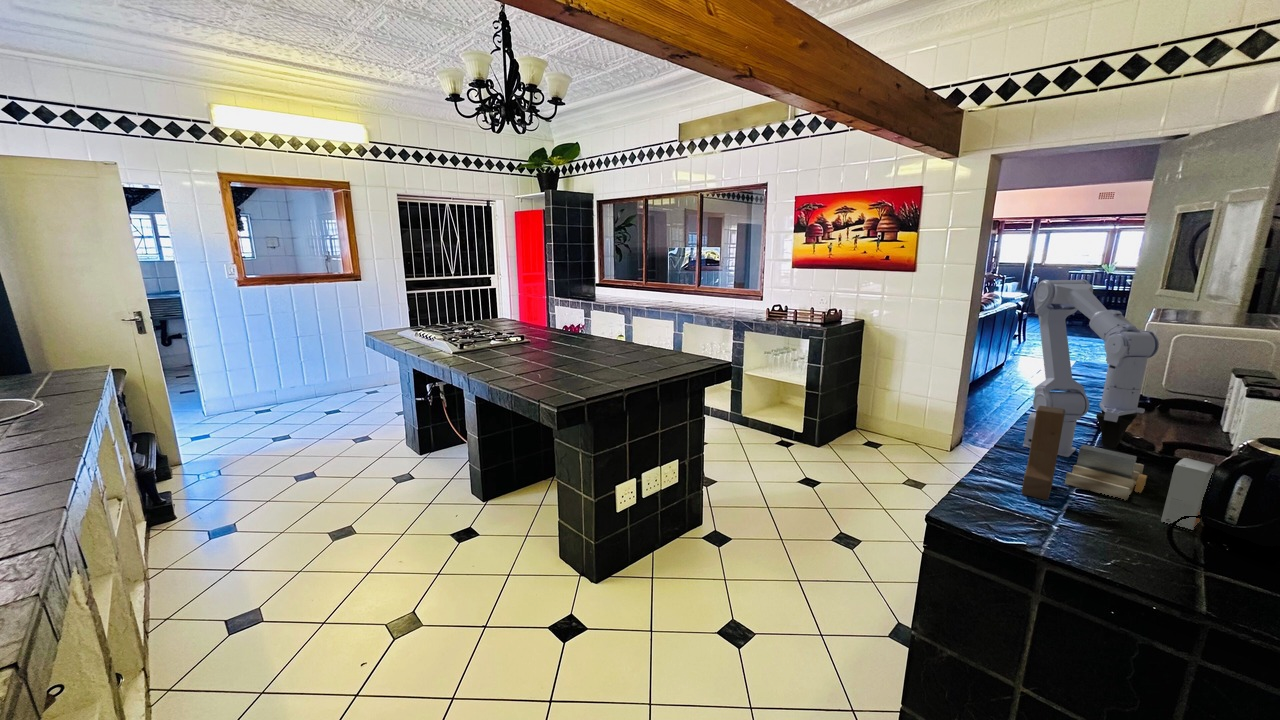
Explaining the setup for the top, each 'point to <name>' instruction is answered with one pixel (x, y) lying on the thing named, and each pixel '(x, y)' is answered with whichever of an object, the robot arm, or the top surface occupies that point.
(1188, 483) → the skincare box
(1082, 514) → the top surface
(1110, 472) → the panel
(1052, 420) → the wooden block
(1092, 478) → the rack
